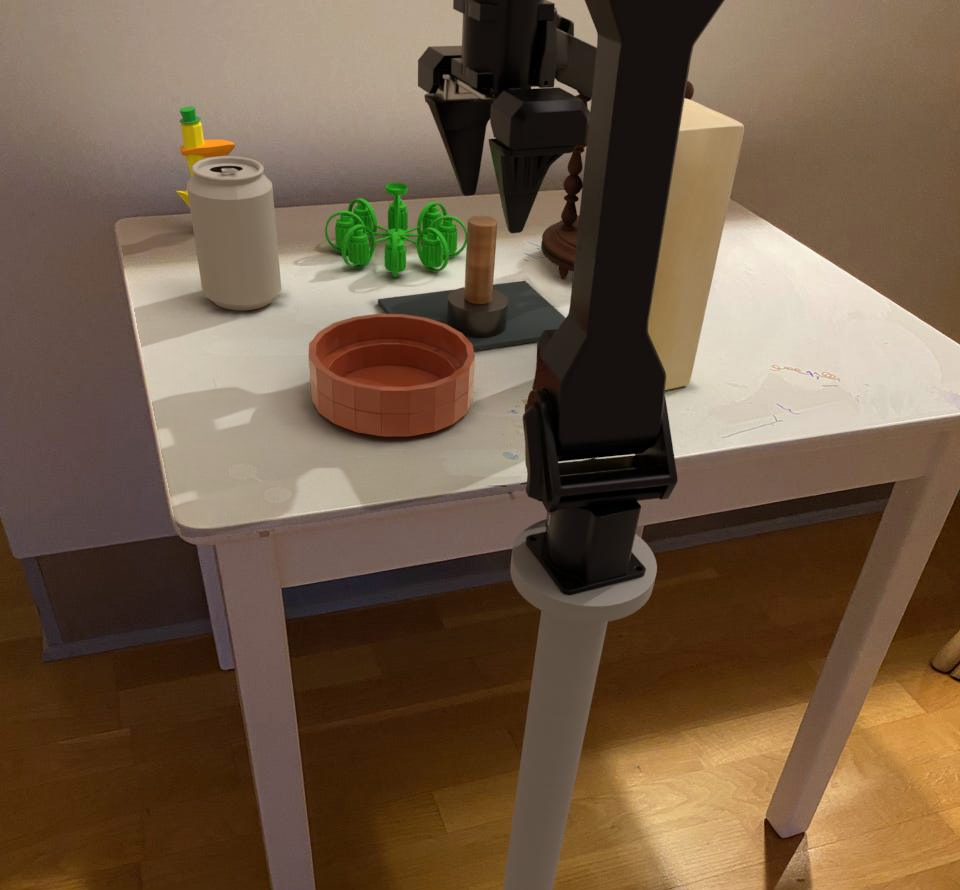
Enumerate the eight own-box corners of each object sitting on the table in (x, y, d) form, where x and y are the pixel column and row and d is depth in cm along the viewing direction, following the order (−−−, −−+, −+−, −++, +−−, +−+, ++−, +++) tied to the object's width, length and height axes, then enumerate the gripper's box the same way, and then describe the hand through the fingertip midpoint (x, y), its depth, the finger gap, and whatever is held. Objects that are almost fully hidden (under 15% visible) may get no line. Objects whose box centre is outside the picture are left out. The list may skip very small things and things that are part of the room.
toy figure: (239, 220, 105) (225, 100, 97) (247, 232, 103) (234, 110, 95) (178, 227, 103) (158, 104, 94) (185, 238, 100) (166, 114, 92)
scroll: (671, 247, 107) (711, 43, 93) (679, 300, 96) (725, 79, 82) (543, 235, 107) (563, 30, 94) (536, 287, 97) (558, 64, 83)
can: (273, 278, 94) (261, 149, 86) (290, 309, 89) (279, 175, 81) (197, 285, 92) (177, 153, 84) (210, 318, 87) (190, 181, 79)
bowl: (496, 426, 76) (501, 375, 73) (340, 454, 72) (337, 401, 69) (436, 353, 85) (437, 305, 82) (293, 375, 80) (289, 324, 77)
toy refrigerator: (573, 359, 85) (608, 101, 71) (641, 347, 88) (688, 96, 74) (619, 400, 80) (666, 132, 66) (689, 386, 83) (750, 125, 68)
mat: (579, 335, 89) (580, 330, 89) (422, 359, 84) (422, 354, 83) (524, 285, 97) (525, 280, 96) (377, 303, 91) (377, 298, 91)
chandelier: (331, 225, 105) (328, 159, 101) (464, 231, 106) (467, 166, 102) (320, 280, 95) (316, 209, 90) (468, 286, 96) (471, 216, 91)
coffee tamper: (515, 333, 87) (525, 229, 81) (460, 341, 86) (464, 235, 79) (492, 308, 91) (499, 206, 84) (438, 315, 89) (441, 212, 83)
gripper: (673, 3, 62) (634, 244, 73) (547, -40, 74) (529, 171, 85) (522, 5, 58) (504, 258, 69) (416, -40, 71) (414, 180, 81)
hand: (491, 212), depth 76 cm, fingers open, 9 cm apart
